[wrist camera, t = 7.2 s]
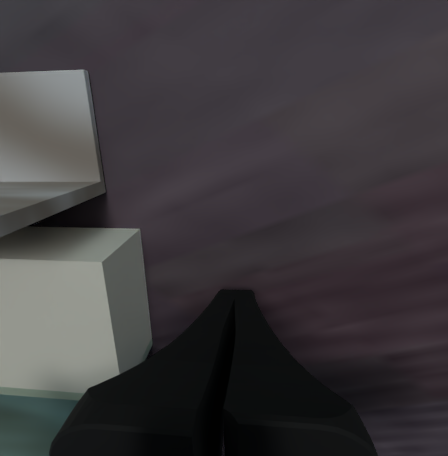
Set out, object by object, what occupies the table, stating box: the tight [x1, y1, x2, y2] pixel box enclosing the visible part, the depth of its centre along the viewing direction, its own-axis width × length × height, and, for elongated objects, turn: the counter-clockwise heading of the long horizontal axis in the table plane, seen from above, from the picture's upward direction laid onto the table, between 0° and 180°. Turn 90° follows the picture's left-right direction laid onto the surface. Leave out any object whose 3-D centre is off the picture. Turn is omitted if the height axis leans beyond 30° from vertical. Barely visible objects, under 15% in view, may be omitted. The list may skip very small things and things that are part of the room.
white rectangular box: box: [0, 226, 153, 401], centre depth 12 cm, size 6×8×4 cm
